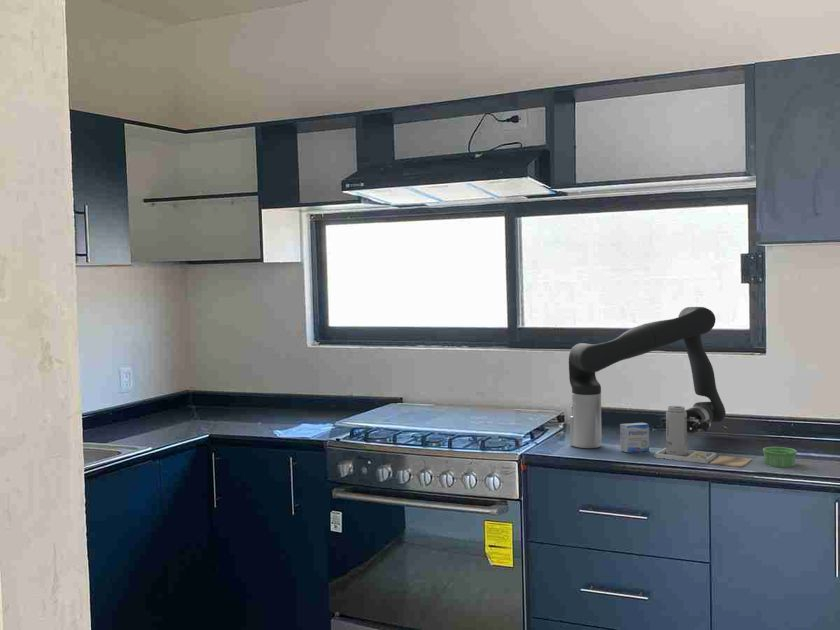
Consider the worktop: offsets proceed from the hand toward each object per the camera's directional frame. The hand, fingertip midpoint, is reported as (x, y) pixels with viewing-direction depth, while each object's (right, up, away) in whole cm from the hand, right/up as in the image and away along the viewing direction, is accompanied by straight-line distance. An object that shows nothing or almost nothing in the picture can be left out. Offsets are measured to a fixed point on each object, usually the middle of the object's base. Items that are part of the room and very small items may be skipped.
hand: (678, 427), depth 254 cm
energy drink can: (-1, -9, -2) cm, 9 cm away
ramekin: (+24, -9, -15) cm, 30 cm away
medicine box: (-12, -9, +7) cm, 16 cm away
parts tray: (+1, -9, -3) cm, 9 cm away
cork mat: (+12, -9, -11) cm, 18 cm away
